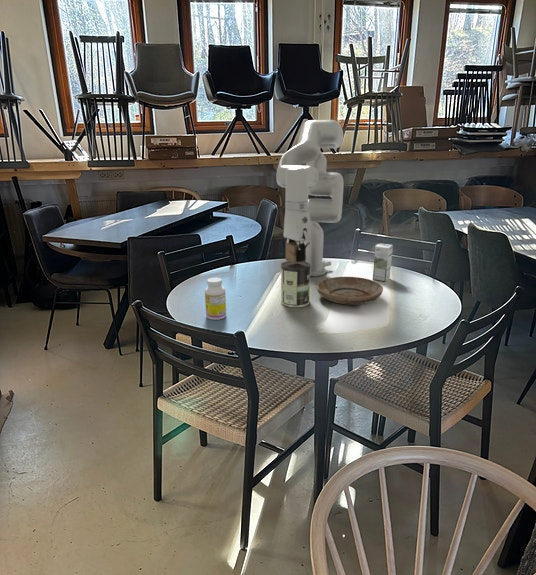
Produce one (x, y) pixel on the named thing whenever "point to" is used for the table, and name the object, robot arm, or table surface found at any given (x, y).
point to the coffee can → (295, 284)
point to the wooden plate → (349, 290)
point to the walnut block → (292, 252)
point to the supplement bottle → (215, 299)
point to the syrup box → (382, 262)
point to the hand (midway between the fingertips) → (295, 258)
